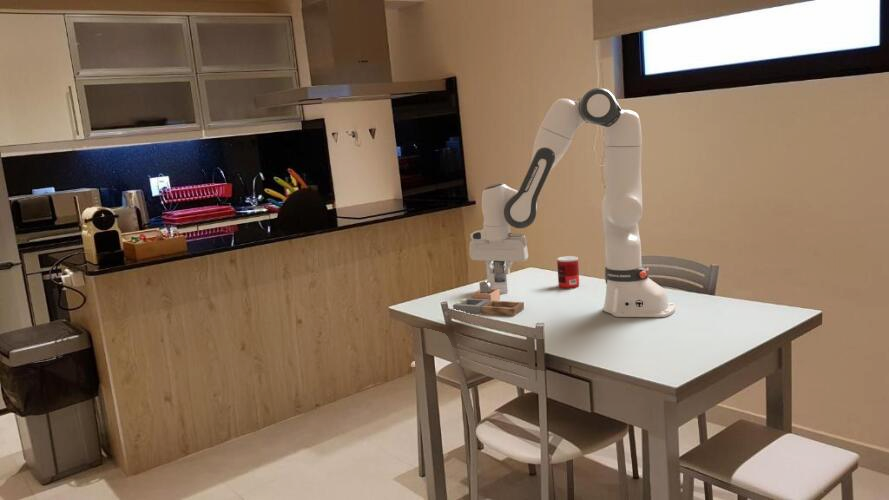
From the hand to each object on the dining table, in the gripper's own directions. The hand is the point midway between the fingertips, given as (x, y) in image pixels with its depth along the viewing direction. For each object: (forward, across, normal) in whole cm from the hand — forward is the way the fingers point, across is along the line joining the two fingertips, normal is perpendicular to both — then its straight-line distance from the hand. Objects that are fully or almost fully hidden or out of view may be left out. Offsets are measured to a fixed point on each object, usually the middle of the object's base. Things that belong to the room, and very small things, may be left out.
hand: (499, 273), depth 229 cm
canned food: (+14, -10, -38) cm, 42 cm away
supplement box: (+14, +13, -24) cm, 31 cm away
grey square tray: (+14, +12, -1) cm, 18 cm away
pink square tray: (+14, +11, -10) cm, 20 cm away
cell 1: (+13, +11, -10) cm, 20 cm away
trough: (+14, 0, 0) cm, 14 cm away
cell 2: (+3, 0, 0) cm, 3 cm away
